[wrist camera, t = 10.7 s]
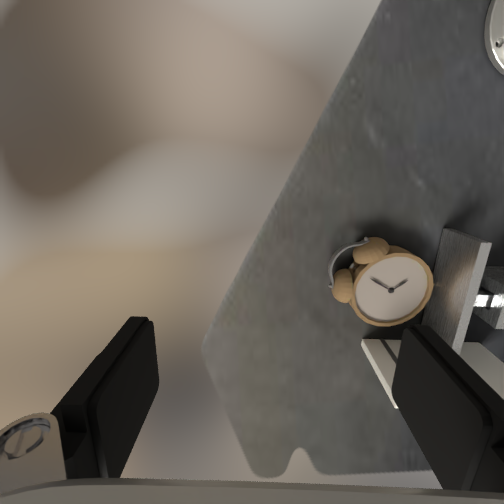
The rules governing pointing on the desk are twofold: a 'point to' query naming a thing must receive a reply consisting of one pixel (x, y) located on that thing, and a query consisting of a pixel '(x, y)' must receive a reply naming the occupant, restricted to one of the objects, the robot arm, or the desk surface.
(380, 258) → the alarm clock
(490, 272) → the block
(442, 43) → the desk surface
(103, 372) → the robot arm
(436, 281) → the grey t-shaped piece
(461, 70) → the desk surface
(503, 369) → the board
